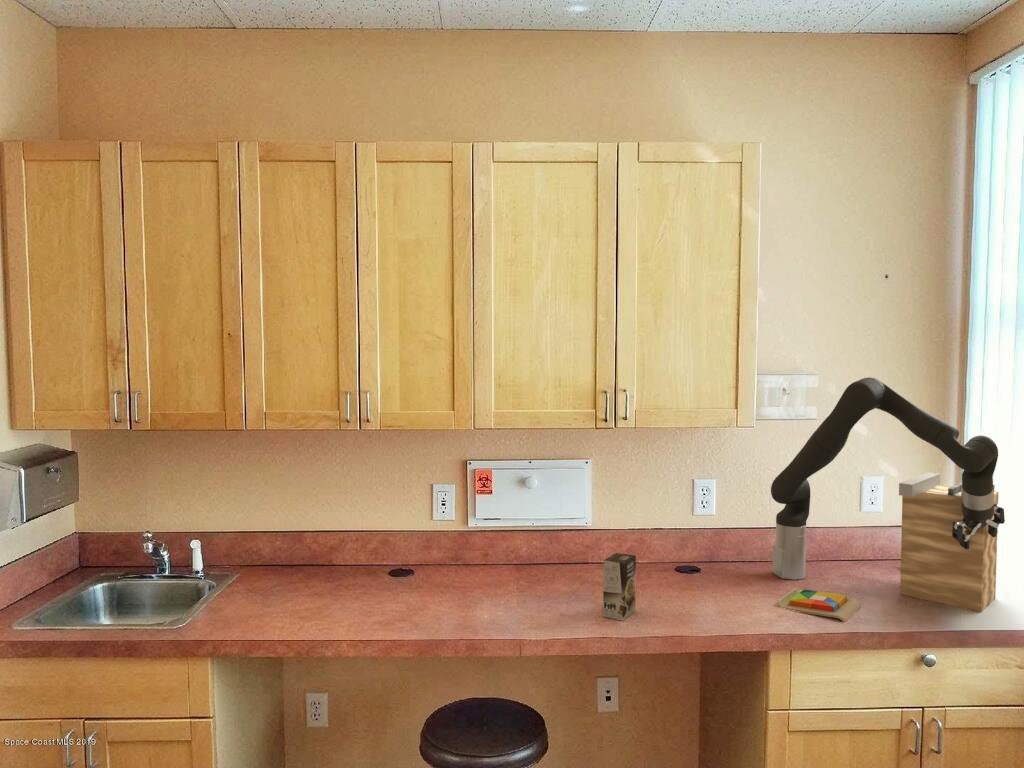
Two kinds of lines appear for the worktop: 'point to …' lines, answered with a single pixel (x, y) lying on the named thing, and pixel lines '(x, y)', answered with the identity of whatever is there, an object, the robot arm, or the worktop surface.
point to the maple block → (945, 552)
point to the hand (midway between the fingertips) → (978, 541)
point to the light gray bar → (919, 484)
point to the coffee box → (619, 586)
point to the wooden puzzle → (820, 603)
